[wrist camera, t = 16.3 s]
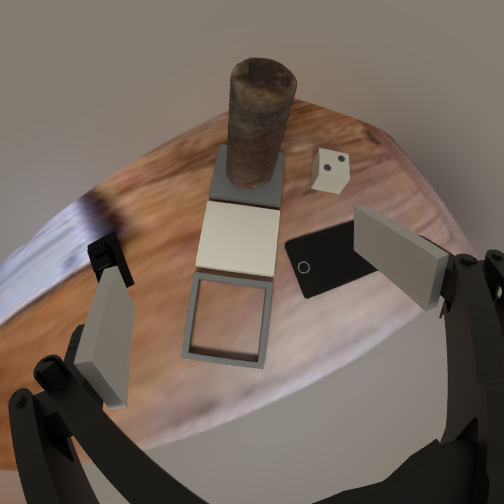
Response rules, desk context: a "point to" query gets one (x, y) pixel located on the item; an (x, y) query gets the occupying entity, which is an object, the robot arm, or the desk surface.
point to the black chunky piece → (109, 257)
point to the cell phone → (326, 260)
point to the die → (330, 171)
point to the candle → (257, 120)
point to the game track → (238, 245)
